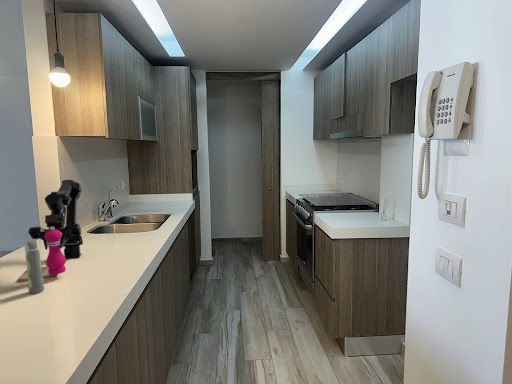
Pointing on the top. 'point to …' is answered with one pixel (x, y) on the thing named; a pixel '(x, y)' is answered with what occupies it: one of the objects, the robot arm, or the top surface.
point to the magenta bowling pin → (54, 252)
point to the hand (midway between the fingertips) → (53, 248)
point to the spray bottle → (34, 267)
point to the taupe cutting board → (44, 275)
